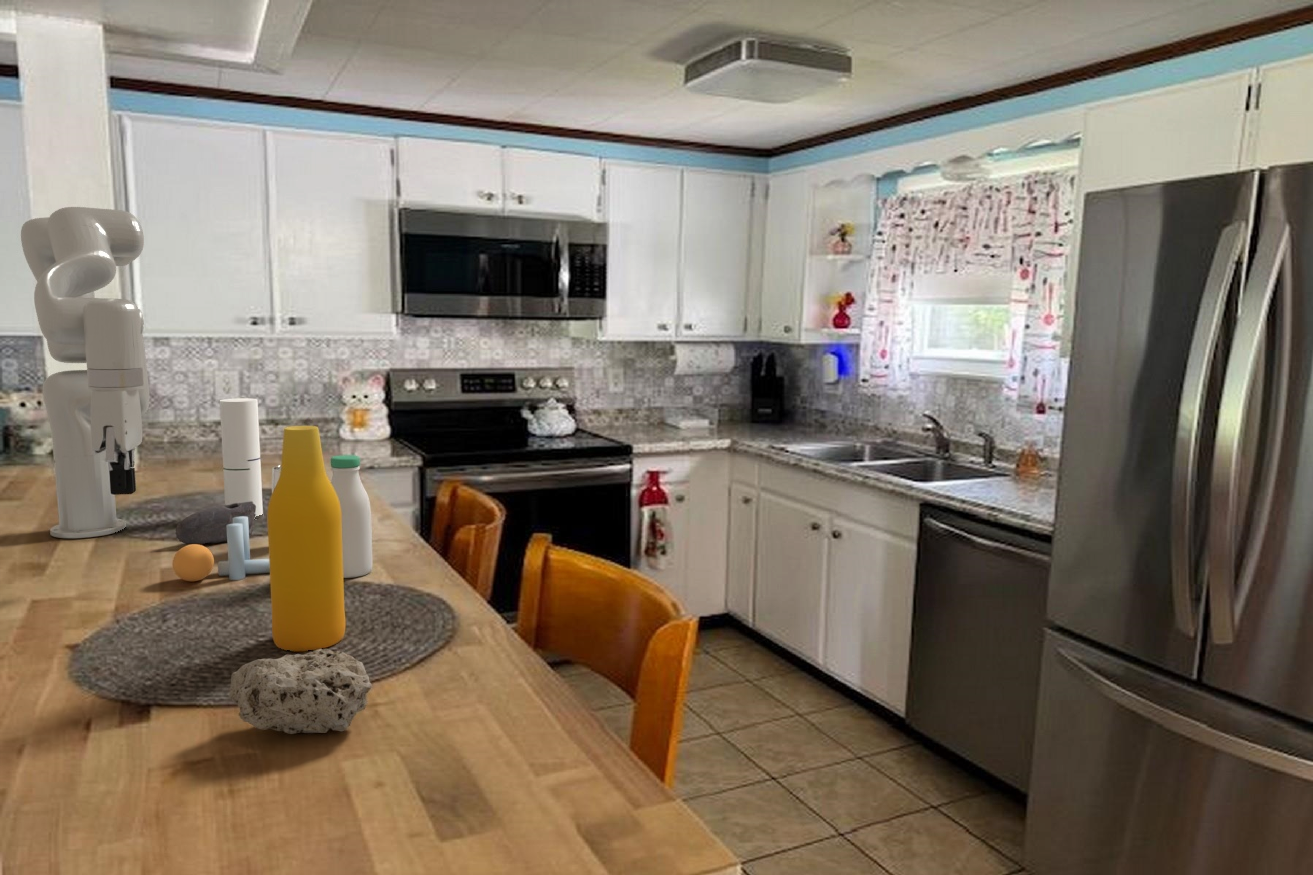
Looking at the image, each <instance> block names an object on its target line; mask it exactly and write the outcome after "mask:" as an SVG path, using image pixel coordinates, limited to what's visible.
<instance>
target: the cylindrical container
mask: <svg viewBox="0 0 1313 875" xmlns="http://www.w3.org/2000/svg"><path fill="white" fill-rule="evenodd" d="M219 408H220V409H219V413H220V414H219V416H220V428H221V430H220V431H221V434H220V435H221V450H222V467H223V469H222V470H223V471H222V472H223V487H224V489H223V490H224V491H223V492H224V505H230V504H234V503H243V502H251V501H253V504H255V505H256V509H255V510H256V511H255V514H256V515H255V517H256V516H259V515H262V514H263V515H264V508H263V489H262V488H263V487H262V486H263V485H262V466H261V447H260V446H261V445H260V424H259V423H260V422H259V421H260V419H259V403H258V398H246V397H243V398H241V397H239V398H225V399H220V400H219Z"/></svg>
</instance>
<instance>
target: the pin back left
mask: <svg viewBox="0 0 1313 875" xmlns="http://www.w3.org/2000/svg"><path fill="white" fill-rule="evenodd" d="M226 527H227V561H228V564H229V575H228V577H229V578H228V579H229V580H231V581H240V580H244V579H246V574H245V561H244V541H243V524H241V523H233V524H228V525H226Z"/></svg>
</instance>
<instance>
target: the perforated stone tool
mask: <svg viewBox="0 0 1313 875" xmlns="http://www.w3.org/2000/svg"><path fill="white" fill-rule="evenodd" d="M255 509H256V505H255V504H253V501H251V502H243V503H234V504H230V505H225V504H222V505H218V506H215V507H214V506H213V507H211V508H206V509H203V510H200V511H197V512H195V513H192V514H191V515H188V516H186V517H185V518H184V519H182V520H180V521H179V523H178V524H177V525H176V528H175V537H176V538H177V539H178V540H179V542H181V543H182V544H186V545H191V544H198V545H205V543H208V544H210V545H213V544H219V543H226V542H227V527H226V525H228V524H233V519H232V518H234V517H240V516H246V517H248V525H249V537H250V536H252V534H253V531H254V525H255V520H256V519H255V515H256V514H255V511H256V510H255ZM254 519H255V520H254Z"/></svg>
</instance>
